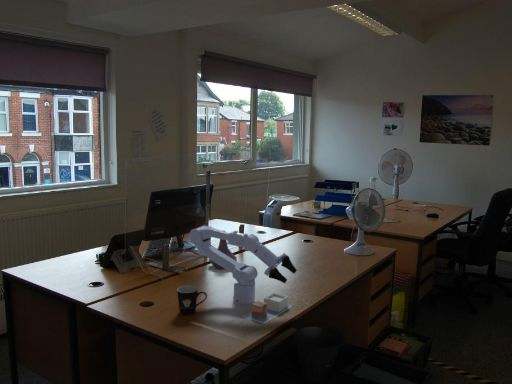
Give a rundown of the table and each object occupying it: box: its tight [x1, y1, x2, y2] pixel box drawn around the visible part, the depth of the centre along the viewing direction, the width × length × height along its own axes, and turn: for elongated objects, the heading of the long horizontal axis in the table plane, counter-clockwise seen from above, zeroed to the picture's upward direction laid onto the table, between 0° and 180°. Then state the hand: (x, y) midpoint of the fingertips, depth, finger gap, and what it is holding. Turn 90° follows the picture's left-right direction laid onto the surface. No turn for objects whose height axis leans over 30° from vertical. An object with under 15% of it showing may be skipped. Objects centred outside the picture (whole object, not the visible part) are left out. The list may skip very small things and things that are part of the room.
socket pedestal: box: [263, 292, 289, 312], centre depth 197 cm, size 8×8×4 cm
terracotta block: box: [251, 300, 267, 319], centre depth 188 cm, size 4×4×5 cm
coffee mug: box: [176, 285, 208, 316], centre depth 191 cm, size 12×9×10 cm
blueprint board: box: [241, 304, 293, 325], centre depth 193 cm, size 22×11×1 cm, turn 146°
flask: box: [208, 230, 238, 270], centre depth 254 cm, size 16×16×20 cm
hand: (290, 276), depth 194 cm, fingers open, 7 cm apart
